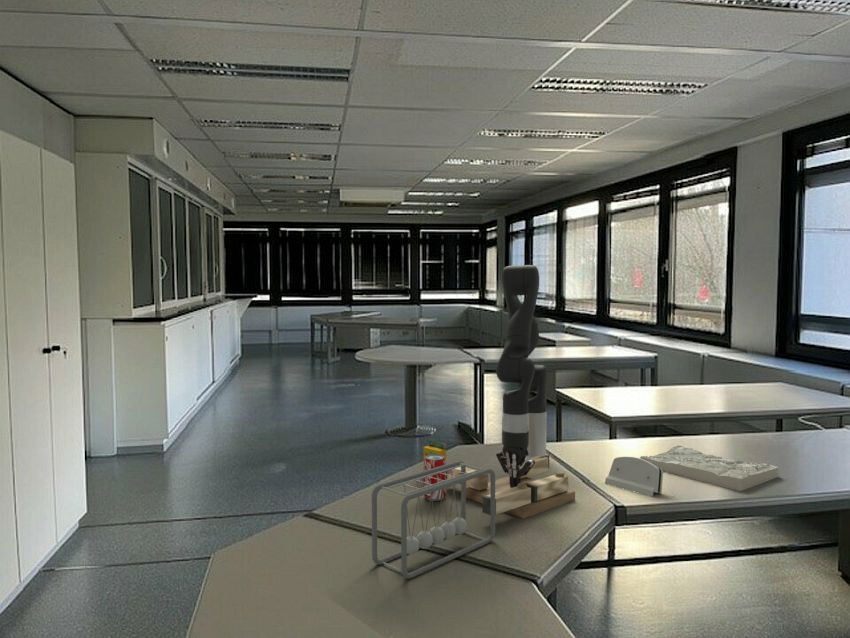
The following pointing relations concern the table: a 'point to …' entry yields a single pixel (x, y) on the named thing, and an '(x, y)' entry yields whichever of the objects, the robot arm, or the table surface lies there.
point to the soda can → (431, 463)
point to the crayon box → (435, 449)
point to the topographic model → (713, 468)
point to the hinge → (635, 475)
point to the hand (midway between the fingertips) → (515, 489)
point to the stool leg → (548, 486)
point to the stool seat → (512, 492)
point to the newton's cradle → (436, 533)
